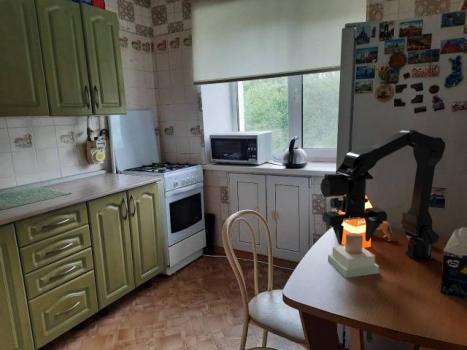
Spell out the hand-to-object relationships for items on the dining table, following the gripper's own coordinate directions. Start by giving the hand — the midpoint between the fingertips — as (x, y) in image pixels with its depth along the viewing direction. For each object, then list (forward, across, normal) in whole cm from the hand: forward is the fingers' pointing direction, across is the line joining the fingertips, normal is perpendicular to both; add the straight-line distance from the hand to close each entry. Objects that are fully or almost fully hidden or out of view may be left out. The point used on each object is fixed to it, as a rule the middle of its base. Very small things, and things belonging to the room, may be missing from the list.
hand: (353, 242), depth 104 cm
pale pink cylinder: (+3, 0, 0) cm, 3 cm away
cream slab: (+6, 0, 0) cm, 6 cm away
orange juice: (+8, -10, -16) cm, 21 cm away
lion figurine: (+8, -21, -20) cm, 30 cm away
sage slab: (+9, 0, 0) cm, 9 cm away
